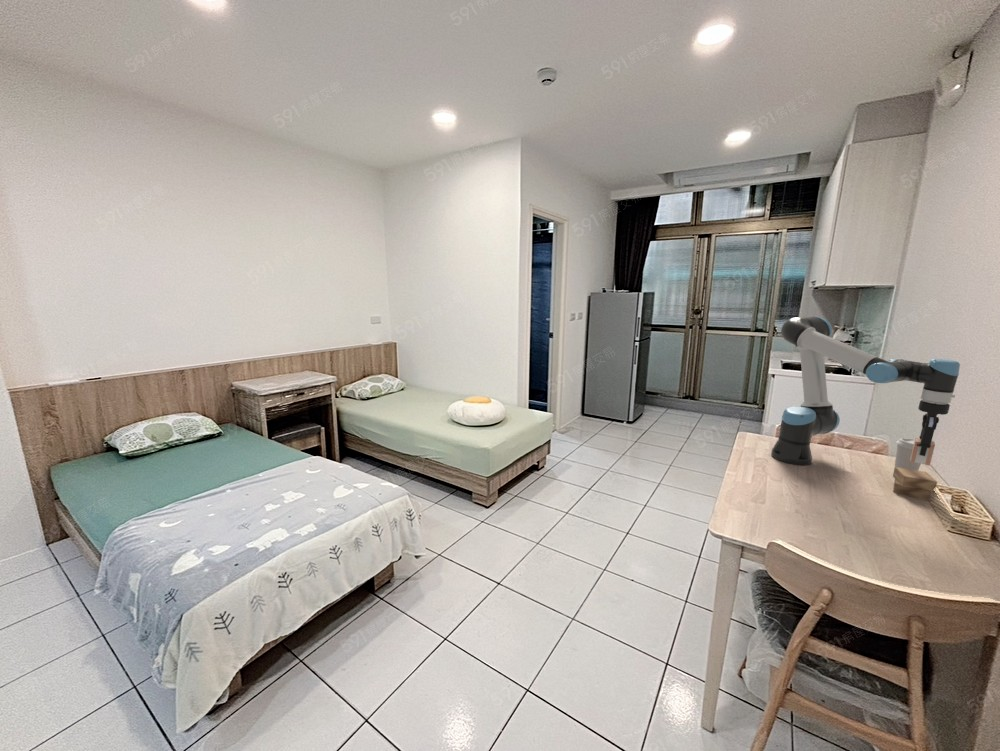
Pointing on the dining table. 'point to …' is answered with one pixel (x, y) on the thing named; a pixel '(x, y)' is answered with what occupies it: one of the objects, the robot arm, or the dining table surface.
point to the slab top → (914, 479)
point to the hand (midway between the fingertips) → (919, 460)
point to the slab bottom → (911, 491)
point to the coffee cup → (905, 454)
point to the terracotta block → (915, 449)
